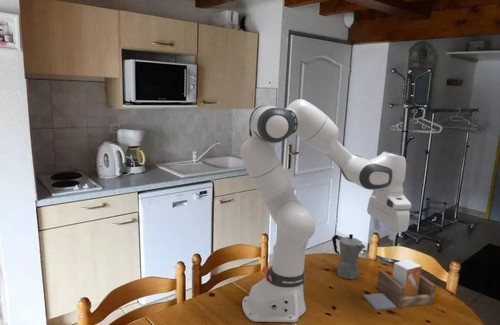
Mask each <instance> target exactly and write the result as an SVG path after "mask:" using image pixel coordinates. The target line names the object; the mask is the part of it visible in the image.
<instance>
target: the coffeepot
mask: <svg viewBox="0 0 500 325" xmlns="http://www.w3.org/2000/svg"><path fill="white" fill-rule="evenodd" d="M337 240H338V241H339V251H338V246H337V245H338V244H337ZM331 241H332V244H333V250H334V253H336V254H337V255H339V254H340V260H339V263H338V266H337V269H336V274H337V275H338V276H339V277H340V278H343V279H345V280H346V279H347V280H355V279H357V278H358V277H359V265H358V262H359V261H358V258H359V255H360V253H361V252H362V251H363V249H366V246H365V245H364V244H363V243H362V241H361V240H360V239H358V238H356V237H354V235H353V234H350V233H349V235H348V236H346V237H344V236H341V235H338V234H335V235H334V236H332V238H331Z"/></svg>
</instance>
